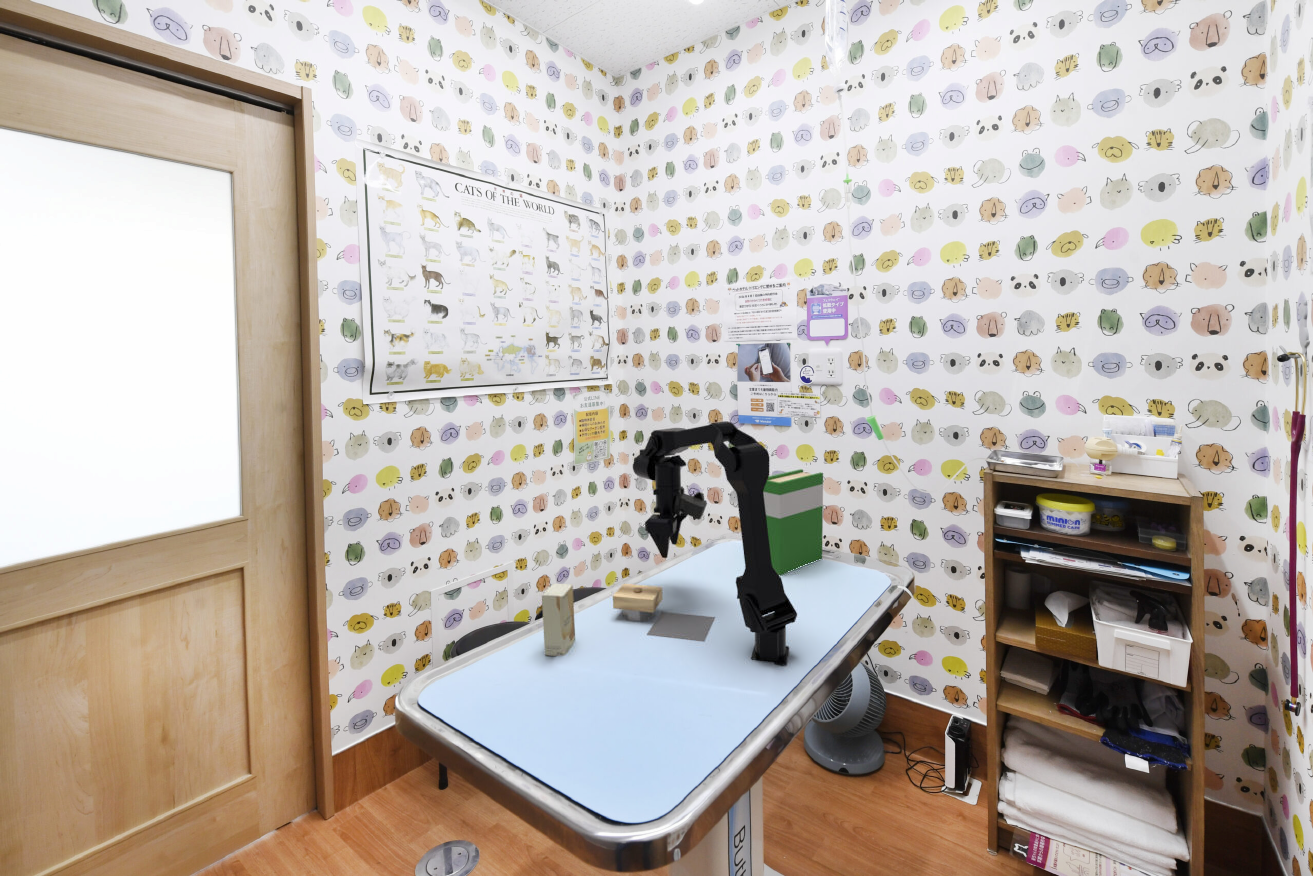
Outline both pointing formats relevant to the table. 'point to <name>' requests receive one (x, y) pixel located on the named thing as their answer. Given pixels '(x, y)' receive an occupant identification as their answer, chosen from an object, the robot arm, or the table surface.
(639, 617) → the bowl
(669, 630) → the mat
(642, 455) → the robot arm
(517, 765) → the table surface
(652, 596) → the lid
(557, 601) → the skincare box
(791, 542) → the hardback book
